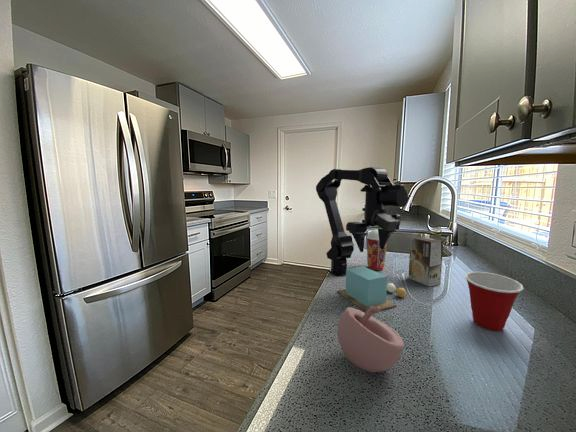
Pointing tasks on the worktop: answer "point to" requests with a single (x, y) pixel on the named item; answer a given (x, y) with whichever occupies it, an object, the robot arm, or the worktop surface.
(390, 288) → the white egg
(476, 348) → the worktop surface
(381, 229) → the robot arm
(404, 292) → the amber egg
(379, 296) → the light blue block
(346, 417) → the worktop surface
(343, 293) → the walnut board
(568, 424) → the worktop surface
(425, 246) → the coffee box
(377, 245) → the smoothie
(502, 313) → the plastic cup
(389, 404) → the worktop surface
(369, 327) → the mortar and pestle
